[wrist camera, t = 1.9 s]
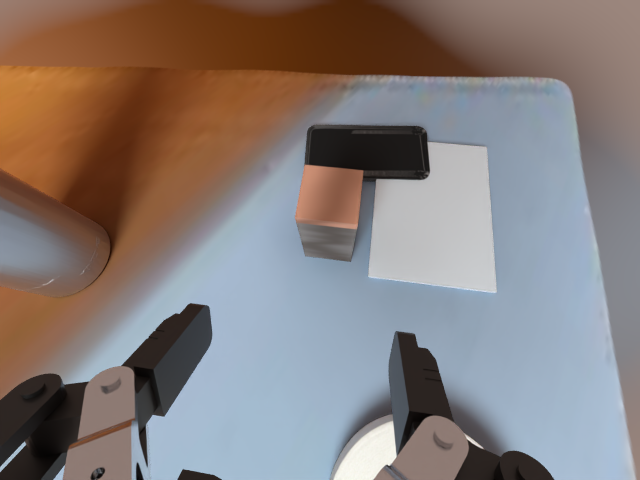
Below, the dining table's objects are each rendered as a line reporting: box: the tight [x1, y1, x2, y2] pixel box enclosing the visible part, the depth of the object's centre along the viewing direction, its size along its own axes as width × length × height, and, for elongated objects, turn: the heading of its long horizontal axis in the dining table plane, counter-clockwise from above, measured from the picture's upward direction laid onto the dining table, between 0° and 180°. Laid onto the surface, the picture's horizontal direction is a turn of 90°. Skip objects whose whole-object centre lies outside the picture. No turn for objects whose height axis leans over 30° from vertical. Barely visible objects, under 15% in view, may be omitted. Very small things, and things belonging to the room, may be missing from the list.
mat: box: [368, 142, 497, 293], centre depth 34 cm, size 13×18×1 cm
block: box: [295, 165, 363, 262], centre depth 29 cm, size 5×5×10 cm
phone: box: [304, 125, 430, 182], centre depth 38 cm, size 8×1×15 cm
